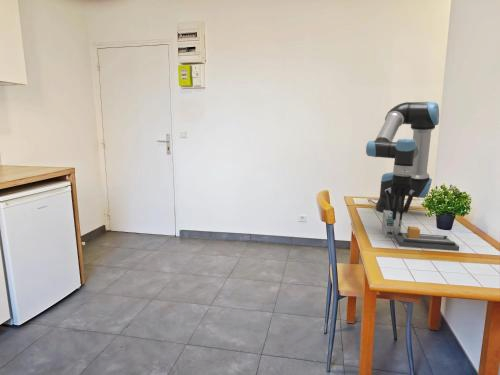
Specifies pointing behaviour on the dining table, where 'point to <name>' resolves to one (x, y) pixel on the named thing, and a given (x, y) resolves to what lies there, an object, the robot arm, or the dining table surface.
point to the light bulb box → (389, 224)
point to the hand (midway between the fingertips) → (395, 226)
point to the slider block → (413, 232)
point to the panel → (426, 242)
